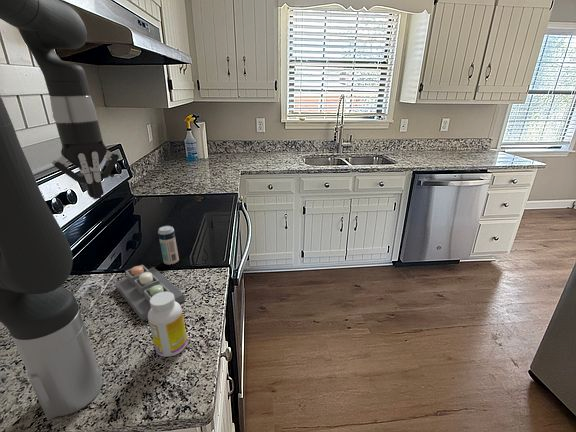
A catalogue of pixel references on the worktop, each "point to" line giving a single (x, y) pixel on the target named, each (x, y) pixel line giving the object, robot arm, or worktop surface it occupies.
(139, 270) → the terracotta button
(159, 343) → the supplement bottle
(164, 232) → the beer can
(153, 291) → the sage button
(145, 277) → the cream button
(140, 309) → the grey boxy piece
